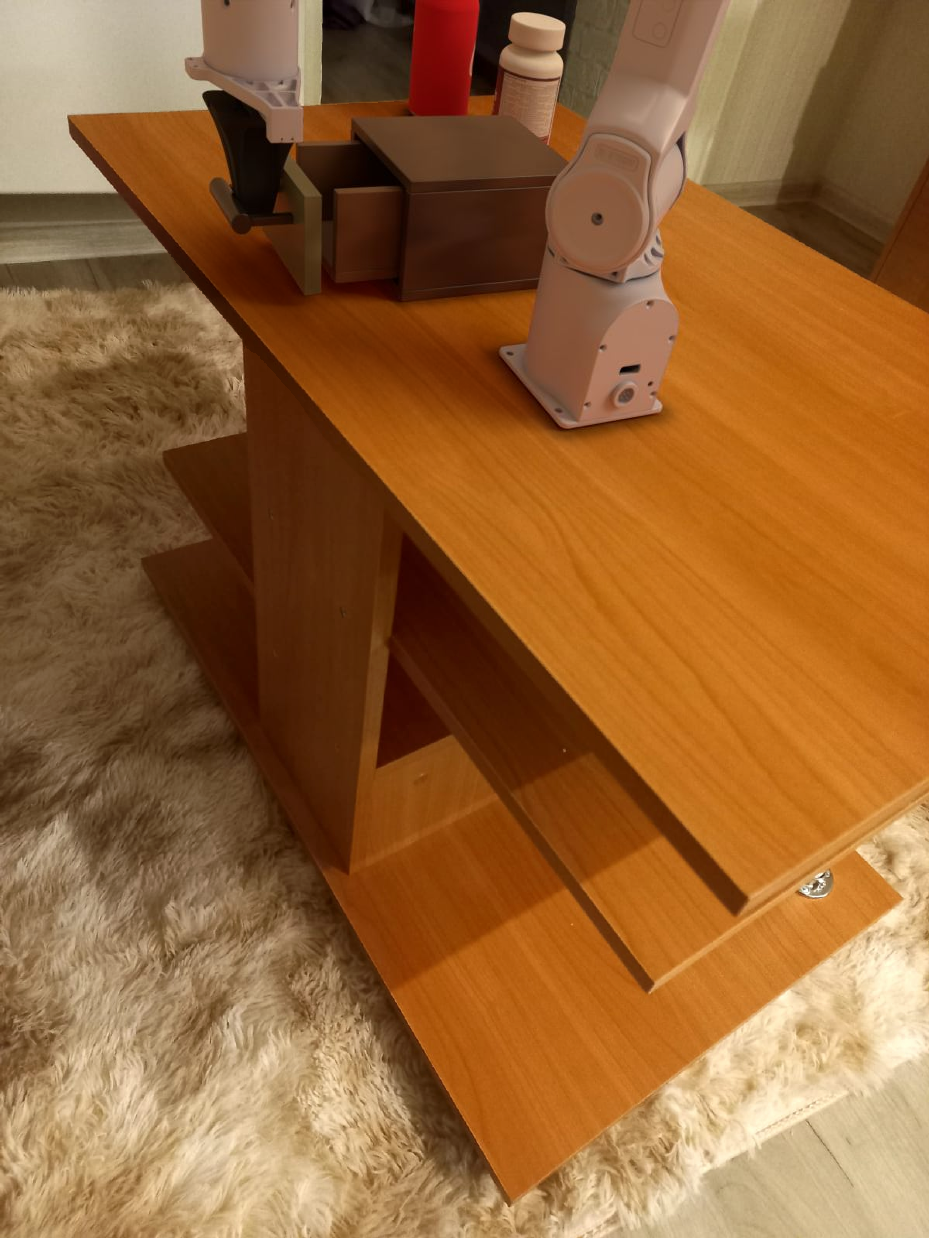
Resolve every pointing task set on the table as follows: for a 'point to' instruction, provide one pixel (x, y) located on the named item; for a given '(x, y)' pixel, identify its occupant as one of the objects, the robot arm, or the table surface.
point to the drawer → (329, 214)
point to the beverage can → (442, 57)
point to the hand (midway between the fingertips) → (255, 212)
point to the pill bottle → (530, 72)
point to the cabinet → (466, 201)
